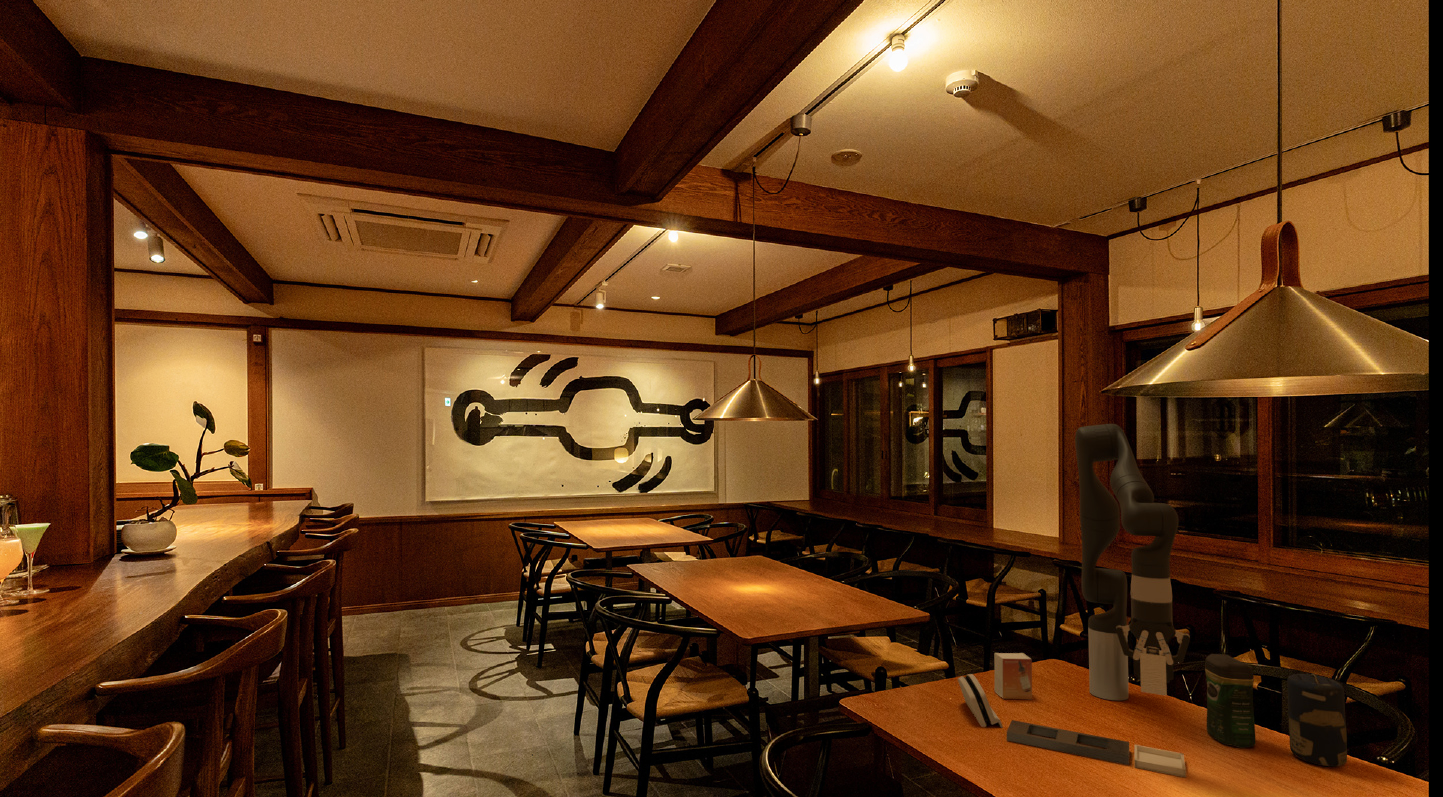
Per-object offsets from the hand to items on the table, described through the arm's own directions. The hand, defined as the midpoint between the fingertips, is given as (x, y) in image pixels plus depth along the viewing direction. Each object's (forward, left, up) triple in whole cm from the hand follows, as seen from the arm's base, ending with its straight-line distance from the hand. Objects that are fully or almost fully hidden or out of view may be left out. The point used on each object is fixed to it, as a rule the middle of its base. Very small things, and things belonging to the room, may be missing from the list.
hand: (1153, 679), depth 153 cm
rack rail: (0, -17, -17) cm, 24 cm away
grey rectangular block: (0, 0, -2) cm, 2 cm away
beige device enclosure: (-10, -37, -18) cm, 43 cm away
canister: (-20, +30, -18) cm, 40 cm away
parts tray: (0, +1, -17) cm, 17 cm away
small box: (-28, -32, -18) cm, 46 cm away
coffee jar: (-23, +15, -18) cm, 33 cm away
